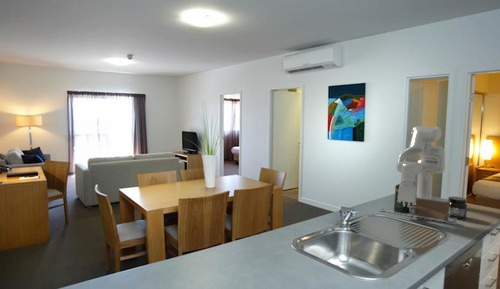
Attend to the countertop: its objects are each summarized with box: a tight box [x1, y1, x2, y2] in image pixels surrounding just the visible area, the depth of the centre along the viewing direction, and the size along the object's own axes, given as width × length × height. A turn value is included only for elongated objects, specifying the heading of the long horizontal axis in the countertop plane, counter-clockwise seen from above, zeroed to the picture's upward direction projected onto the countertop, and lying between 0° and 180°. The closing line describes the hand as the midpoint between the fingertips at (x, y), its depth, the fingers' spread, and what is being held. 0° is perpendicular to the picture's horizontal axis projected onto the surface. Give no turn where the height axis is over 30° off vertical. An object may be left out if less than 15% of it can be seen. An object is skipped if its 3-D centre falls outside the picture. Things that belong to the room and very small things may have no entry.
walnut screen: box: [409, 198, 449, 221], centre depth 184 cm, size 10×20×11 cm, turn 53°
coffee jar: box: [393, 183, 408, 213], centre depth 203 cm, size 10×8×19 cm
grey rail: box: [378, 204, 458, 225], centre depth 192 cm, size 3×43×3 cm, turn 53°
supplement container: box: [447, 196, 468, 220], centre depth 192 cm, size 10×10×12 cm
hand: (406, 212), depth 189 cm, fingers closed
